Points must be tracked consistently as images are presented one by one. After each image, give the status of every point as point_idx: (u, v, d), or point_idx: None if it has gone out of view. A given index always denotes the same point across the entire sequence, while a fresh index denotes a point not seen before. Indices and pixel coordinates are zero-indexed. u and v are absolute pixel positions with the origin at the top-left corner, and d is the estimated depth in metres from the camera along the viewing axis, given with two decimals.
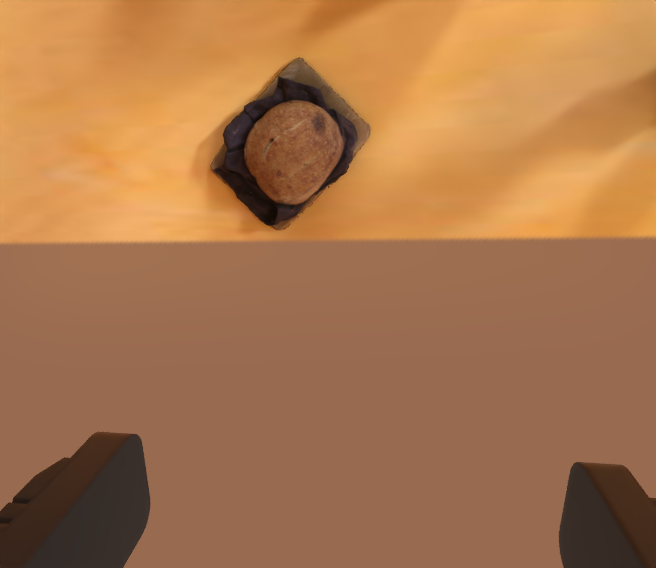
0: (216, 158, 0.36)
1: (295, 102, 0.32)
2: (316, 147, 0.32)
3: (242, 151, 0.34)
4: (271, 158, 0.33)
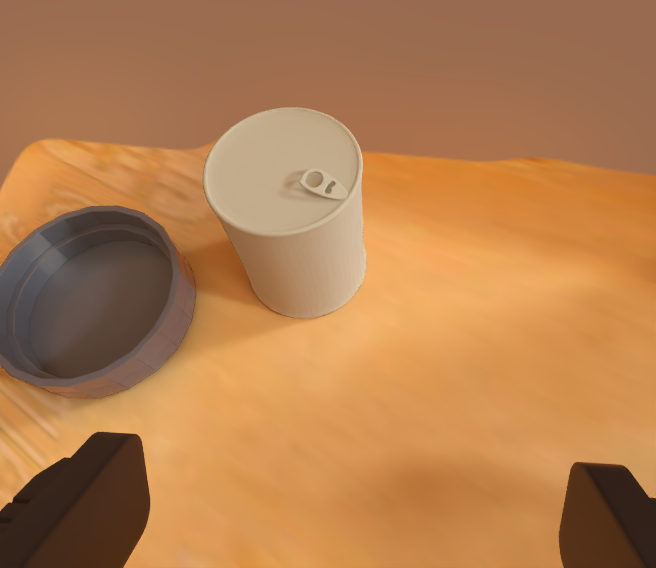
0: None
1: None
2: None
3: None
4: None
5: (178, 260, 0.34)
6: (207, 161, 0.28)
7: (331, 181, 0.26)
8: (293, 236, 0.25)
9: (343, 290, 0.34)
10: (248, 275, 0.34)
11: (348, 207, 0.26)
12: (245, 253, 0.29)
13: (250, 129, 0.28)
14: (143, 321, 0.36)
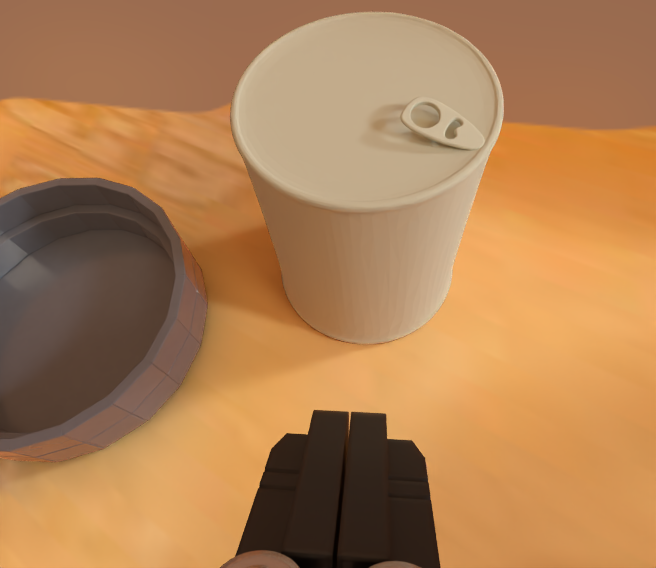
0: None
1: None
2: None
3: None
4: None
5: (183, 256, 0.23)
6: (238, 89, 0.17)
7: (454, 119, 0.15)
8: (393, 212, 0.14)
9: (427, 304, 0.23)
10: (287, 280, 0.23)
11: (482, 165, 0.15)
12: (295, 243, 0.18)
13: (307, 43, 0.18)
14: (131, 344, 0.25)
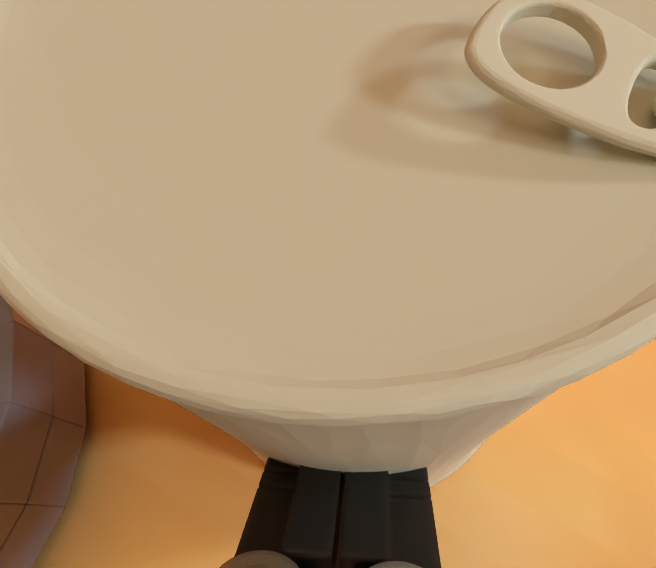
0: None
1: None
2: None
3: None
4: None
5: (17, 359, 0.12)
6: None
7: (648, 62, 0.04)
8: (445, 415, 0.04)
9: None
10: None
11: None
12: None
13: None
14: None
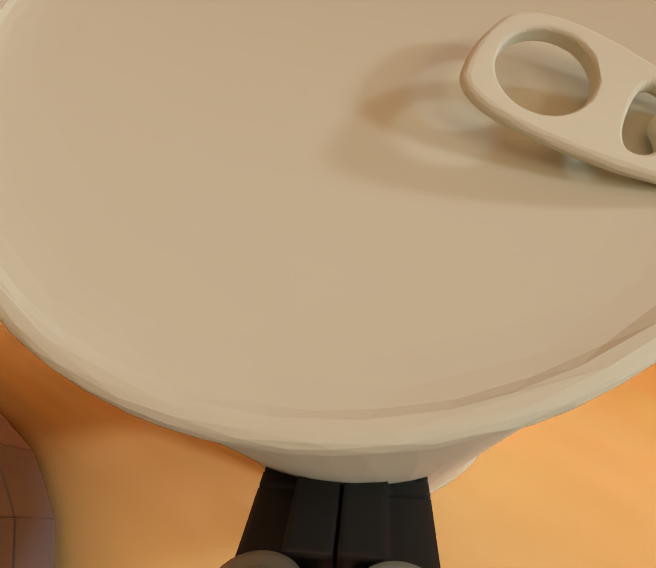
0: None
1: None
2: None
3: None
4: None
5: None
6: None
7: (642, 87, 0.04)
8: (442, 444, 0.04)
9: None
10: None
11: None
12: None
13: None
14: None
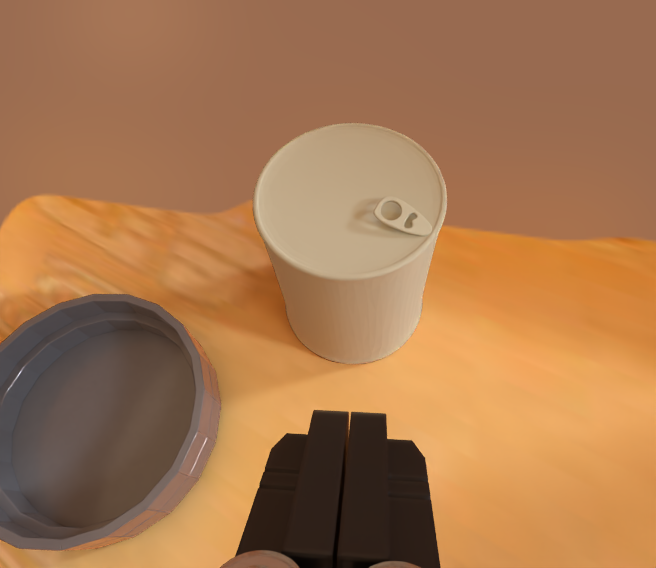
0: None
1: None
2: None
3: None
4: None
5: (202, 371, 0.27)
6: (257, 185, 0.23)
7: (411, 213, 0.22)
8: (368, 280, 0.21)
9: (401, 333, 0.29)
10: (291, 315, 0.29)
11: (431, 244, 0.22)
12: (299, 295, 0.24)
13: (307, 148, 0.24)
14: (155, 440, 0.29)
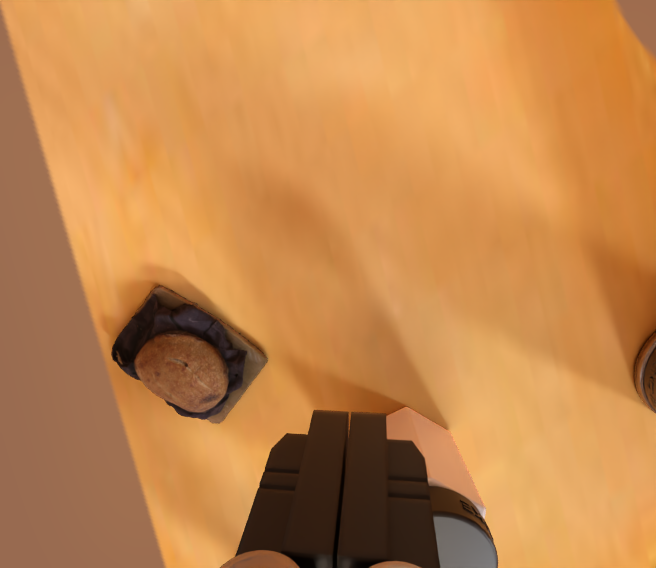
0: (166, 293, 0.37)
1: (223, 377, 0.36)
2: (188, 402, 0.36)
3: (174, 327, 0.36)
4: (169, 367, 0.35)
5: None
6: None
7: None
8: None
9: None
10: None
11: None
12: None
13: None
14: None
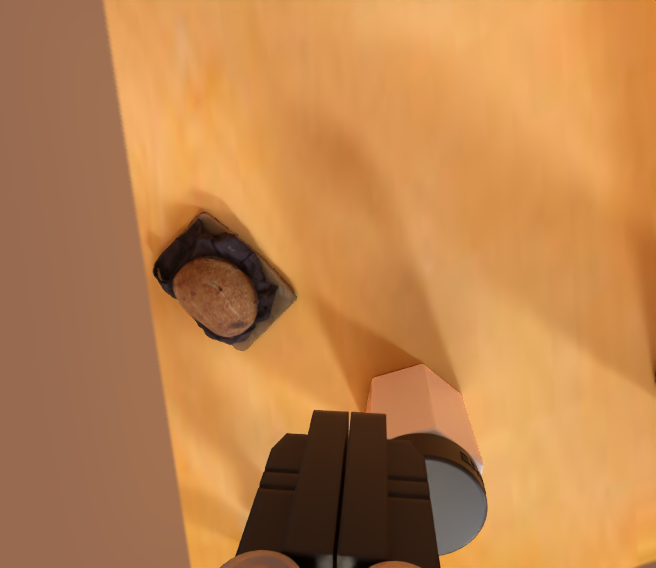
0: (210, 219, 0.38)
1: (253, 306, 0.38)
2: (217, 324, 0.38)
3: (213, 253, 0.38)
4: (204, 289, 0.37)
5: None
6: None
7: None
8: None
9: None
10: None
11: None
12: None
13: None
14: None
